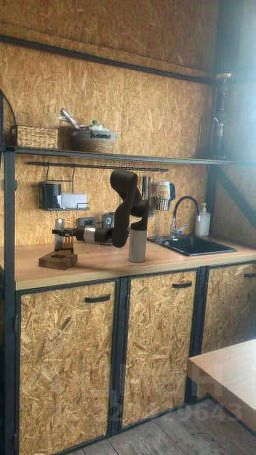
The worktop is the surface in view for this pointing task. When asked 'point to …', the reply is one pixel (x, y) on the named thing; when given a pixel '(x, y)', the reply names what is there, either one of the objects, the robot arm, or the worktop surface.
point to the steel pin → (58, 239)
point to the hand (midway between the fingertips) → (54, 230)
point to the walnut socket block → (58, 260)
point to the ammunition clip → (66, 246)
